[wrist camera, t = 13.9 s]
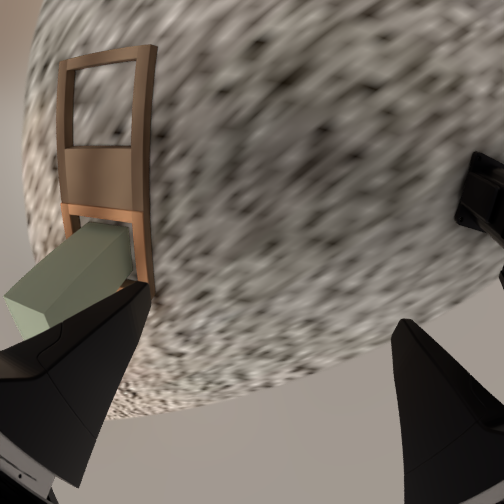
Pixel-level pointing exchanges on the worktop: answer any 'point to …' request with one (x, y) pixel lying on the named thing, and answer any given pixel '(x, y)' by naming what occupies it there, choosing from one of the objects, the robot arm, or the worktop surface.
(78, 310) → the sage peg
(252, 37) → the worktop surface
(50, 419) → the robot arm
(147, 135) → the copper brown frame
